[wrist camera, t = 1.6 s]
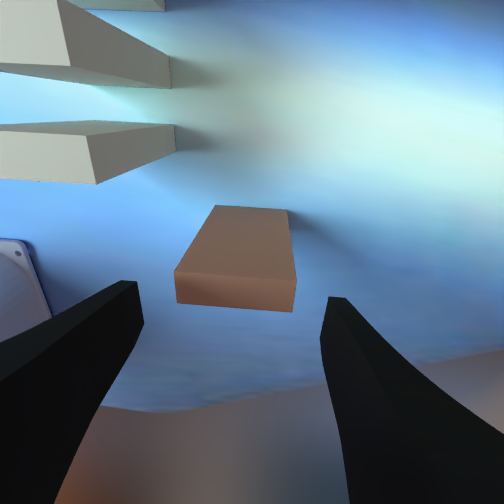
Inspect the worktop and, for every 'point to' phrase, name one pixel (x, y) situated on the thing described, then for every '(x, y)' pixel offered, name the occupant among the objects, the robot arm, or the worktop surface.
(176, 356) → the worktop surface
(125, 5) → the domino
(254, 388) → the worktop surface
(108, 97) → the worktop surface
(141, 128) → the domino
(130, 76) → the domino
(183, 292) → the domino
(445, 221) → the worktop surface
